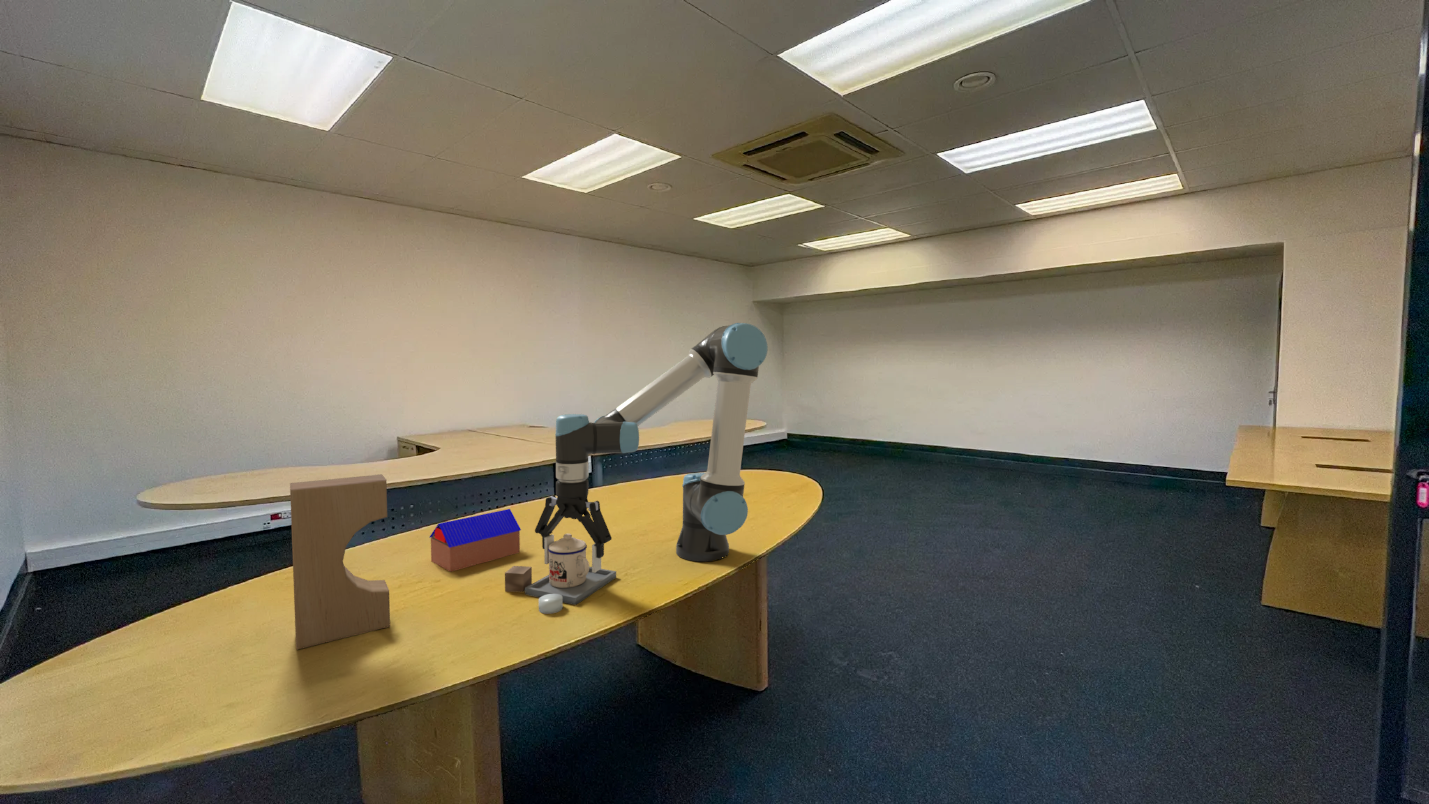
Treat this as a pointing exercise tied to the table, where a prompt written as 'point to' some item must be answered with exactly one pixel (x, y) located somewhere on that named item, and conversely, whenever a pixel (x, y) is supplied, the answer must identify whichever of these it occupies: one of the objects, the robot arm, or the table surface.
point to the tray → (573, 593)
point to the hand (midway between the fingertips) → (572, 566)
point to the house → (475, 540)
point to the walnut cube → (518, 578)
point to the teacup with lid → (567, 562)
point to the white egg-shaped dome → (550, 603)
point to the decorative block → (334, 559)
